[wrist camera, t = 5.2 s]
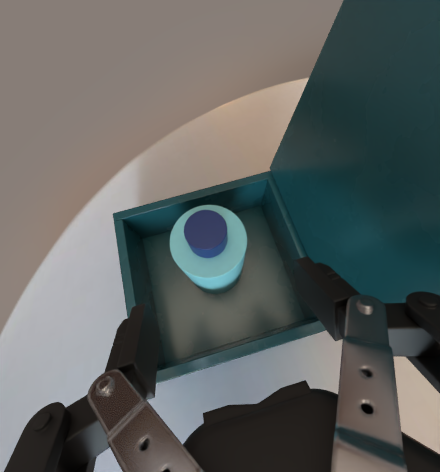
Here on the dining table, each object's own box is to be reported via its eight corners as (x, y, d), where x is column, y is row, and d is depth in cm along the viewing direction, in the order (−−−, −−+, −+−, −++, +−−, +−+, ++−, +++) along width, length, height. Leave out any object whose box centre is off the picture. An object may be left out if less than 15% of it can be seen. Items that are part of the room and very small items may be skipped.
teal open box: (161, 373, 23) (137, 389, 17) (137, 236, 28) (112, 213, 22) (313, 325, 24) (340, 325, 18) (264, 201, 29) (272, 170, 23)
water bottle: (196, 300, 25) (171, 283, 14) (184, 250, 26) (154, 203, 16) (248, 285, 25) (261, 257, 15) (232, 236, 27) (234, 181, 16)
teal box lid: (1127, 286, 3) (1205, 205, 4) (411, -157, 8) (516, -146, 9) (338, 327, 18) (390, 310, 18) (269, 167, 23) (312, 159, 23)
